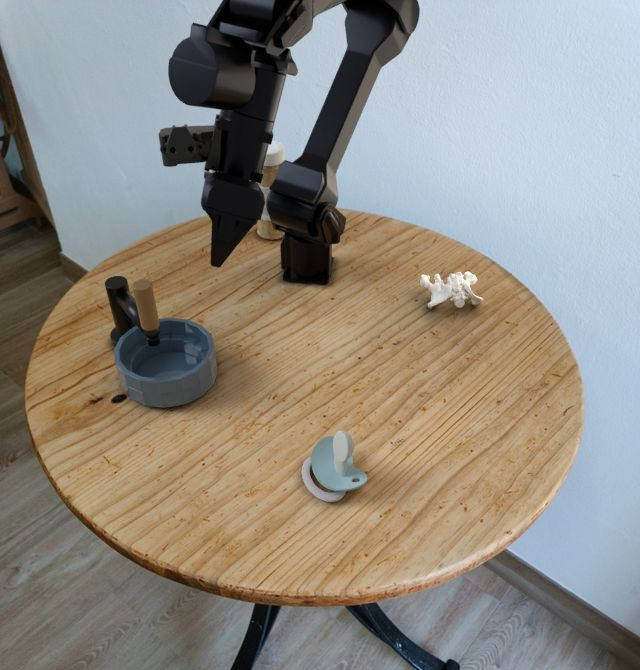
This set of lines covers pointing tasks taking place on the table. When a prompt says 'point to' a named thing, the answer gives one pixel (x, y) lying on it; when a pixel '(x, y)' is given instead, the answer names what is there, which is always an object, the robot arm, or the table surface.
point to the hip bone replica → (451, 289)
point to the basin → (167, 364)
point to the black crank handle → (134, 307)
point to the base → (114, 337)
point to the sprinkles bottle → (269, 174)
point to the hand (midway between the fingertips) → (215, 253)
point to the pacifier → (333, 467)
